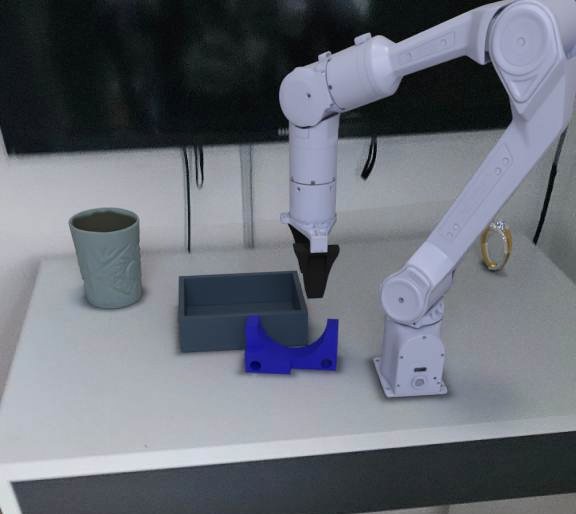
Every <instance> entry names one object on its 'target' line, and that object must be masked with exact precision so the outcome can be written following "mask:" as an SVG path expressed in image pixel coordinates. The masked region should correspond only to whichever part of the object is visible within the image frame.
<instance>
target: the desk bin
mask: <svg viewBox="0 0 576 514" xmlns="http://www.w3.org/2000/svg"><path fill="white" fill-rule="evenodd" d="M177 301H178V304H177V305H178V306H177V307H178V309H177V310H178V314H177V321H178V330H179V339H180V340H179V341H180V347H181V353H196V352H197V353H198V352H216V351H234V350H235V351H236V350H245V349H246V332H245V325H246V322H247V318H248V315H256V316H260V322H261V325H262V327H263V329H264V331H265V333H266V334H267V335H268V336H269V337H270V338H271V339H272V340H273V341H275V342H276V343H278V344H280V345H283V346H286V347H304V346H307V345H309V344H308V343H309V310H308V307H307V303H306V299H305V295H304V292H303V288H302V284H301V280H300V276H299V273H298V270H278V271H277V270H276V271H275V270H274V271H260V272H256V271H255V272H237V273H217V274H214V273H213V274H198V275H197V274H196V275H179V276H178V300H177Z"/></svg>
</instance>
